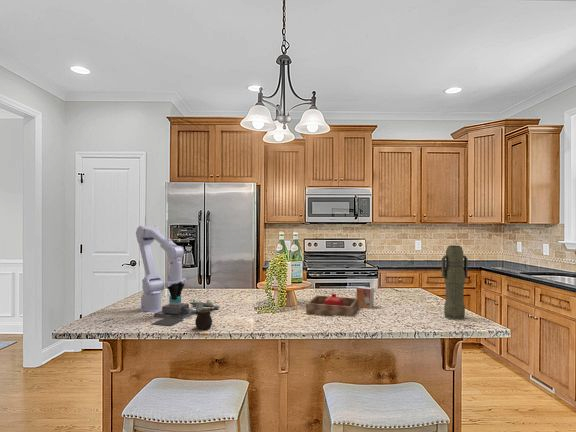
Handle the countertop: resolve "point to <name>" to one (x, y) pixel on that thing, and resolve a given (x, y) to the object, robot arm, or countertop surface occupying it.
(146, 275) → the robot arm
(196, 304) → the metal bracket
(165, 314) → the base
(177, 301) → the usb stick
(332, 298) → the butter dish
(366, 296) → the small box
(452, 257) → the thermos
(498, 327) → the countertop surface
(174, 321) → the key mat
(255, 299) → the countertop surface
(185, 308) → the grey slotted holder
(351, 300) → the brown wooden tray
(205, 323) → the mate gourd
